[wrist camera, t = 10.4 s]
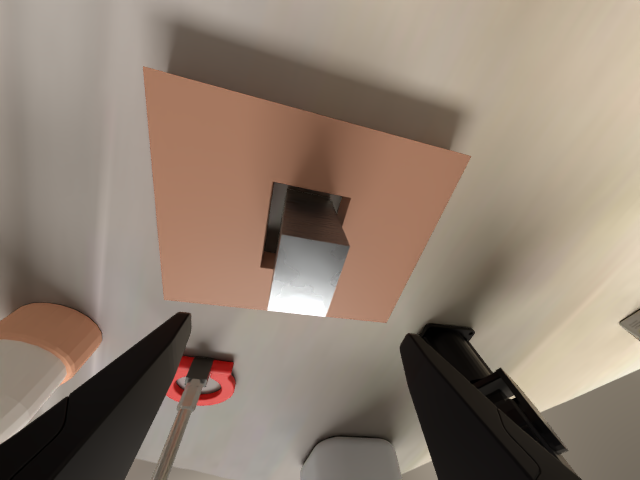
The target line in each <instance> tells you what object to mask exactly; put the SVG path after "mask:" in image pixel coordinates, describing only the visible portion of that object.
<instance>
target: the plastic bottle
mask: <svg viewBox="0 0 640 480" xmlns="http://www.w3.org/2000/svg"><path fill="white" fill-rule="evenodd" d="M300 480H402V476H401V472H400V468H399V464H398V460H397V456H396V452H395V449H394V447H393V446H392V444H391V443H390V442H388V441H386V440H384V439H379V438H359V437H332V438H328V439H325V440H323V441H321V442H320V443H318V444H317V445H316V446H315V448H314V449H313V451H312V452H311V454H310V455H309V457H308V458H307V460H306V462H305V463H304V465H303V466H302V468H301V472H300Z"/></svg>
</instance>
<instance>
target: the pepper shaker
mask: <svg viewBox="0 0 640 480" xmlns="http://www.w3.org/2000/svg"><path fill="white" fill-rule="evenodd" d="M101 341H102V333H101V331H100V330H99V328H98V326H97V325H96V324H95V323H94V322H93V321H92V320H91V319H90V318H89V317H87V316H85V315H83V314H82V313H80V312H78V311H76V310H74V309H71V308H68V307H65V306H62V305H57V304H51V303H32V304H28V305H25V306H21V307H20V308H19V309H17V310H16V311H14V312H13V313H11V314H10V315H8V316H7V317H6V318H4V319H3V320H1V321H0V444H1V443H3V442H4V441H6V440H7V439H9V438H10V437H12V436H13V435H14V434H16V433H17V432H19V431H20V430H21V429H22V428H23V427H24V426H25V425H26V424H27V423H28V422H29V421H30V420H31V418H32V417H33V416H34V415H35V414H36V412H37V411H38V410H39V409H40V408H41V406H42V405H43V404H44V403H45V402H46V400H47V399H48V398H49V397H50V396H51V394H52V393H53V392H54V391H55V390H56V388H57V387H58V386H59V385H61V384H63V383H65V382H66V381H68V380H69V379H71V378H72V377H73V376H74V375H75V374H76V372H77V371H78V370H79V369H80V368H81V367H82V365H83V364H84V363H85V362H86V361H87V360H88V358H89V357H90V356H91V355H92V354H93V353H94V351H95V350H96V349H97V348H98V347H99V345H100V343H101Z"/></svg>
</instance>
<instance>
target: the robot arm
mask: <svg viewBox="0 0 640 480" xmlns="http://www.w3.org/2000/svg"><path fill="white" fill-rule="evenodd" d="M190 333H191V314H190V313H187V312H178V313H176V314H175V315H174V316H172V317H171V318H170V319H168V320H167V321H166V322H164V323H163V324H162V325H160V326H159V327H158V328H156V329H155V330H154V331H152V332H151V333H150V334H149V335H147V336H146V337H145V338H143V339H142V340H141V341H139V342H138V343H137V344H135V345H134V346H133V347H131V348H130V349H129V350H127V351H126V352H125V353H123V354H122V355H121V356H119V357H118V358H117V359H115V360H114V361H113V362H111V363H110V364H109V365H107V366H106V367H105V368H104V369H102V370H101V371H100V372H98V373H97V374H96V375H94V376H93V377H92V378H90V379H89V380H88V381H86V382H85V383H84V384H82V385H81V386H80V387H78V388H77V389H76V390H74V391H73V392H72V393H70V395H69V397H68V396H67V397H65V398H64V399H62V400H61V401H60V402H58V403H57V404H56V405H54V406H53V407H52V408H50V409H49V410H48V411H46V412H45V413H44V414H42V415H41V416H40V417H38V418H37V419H35V420H34V421H33V422H31V423H30V424H29V425H27V426H26V427H24V428H23V429H22V430H20V431H19V432H17V433H16V434H14V435H13V436H12V437H10V438H9V439H7V440H6V441H4V442H3V443H1V444H0V480H125V478H126V476H127V473H128V471H129V469H130V467H131V465H132V463H133V461H134V459H135V457H136V455H137V453H138V451H139V449H140V447H141V445H142V443H143V441H144V439H145V437H146V435H147V432H148V430H149V428H150V426H151V424H152V422H153V420H154V418H155V416H156V414H157V412H158V410H159V408H160V406H161V404H162V402H163V400H164V398H165V396H166V394H167V392H168V389H169V387H170V385H171V383H172V381H173V379H174V377H175V374H176V372H177V369H178V366H179V364H180V361H181V358H182V355H183V353H184V350H185V347H186V344H187V342H188V339H189V336H190ZM474 334H475V331H474V330H473V329H472V328H465V327H456V326H447V325H437V324H428V325H426V326H425V328H424V329H423V331H422V333H421V334H420V336H418V335H417V334H412V333H408V334H407V335H406V336H405V338H404V339H403V341H402V343H401V345H400V353H401V358H402V362H403V366H404V371H405V375H406V380H407V384H408V387H409V391H410V394H411V397H412V400H413V403H414V406H415V409H416V412H417V415H418V419H419V422H420V425H421V428H422V431H423V434H424V437H425V440H426V443H427V446H428V449H429V452H430V456H431V459H432V462H433V465H434V468H435V471H436V474H437V477H438V480H582V479H581V478H580V477H578V476H577V474H576V473H575V472H574V470H573V469H572V468H571V467H570V465H569V464H568V463H567V461H566V460H565V459H564V457H563V456H562V455H561V453H564V452H567V451H568V449H567V448H566V446H565V445H564V444H563V442H562V441H561V440H560V438H559V437H558V436H557V434H556V433H555V432H554V431H553V429H552V428H551V427H550V425H549V424H548V423H547V421H546V420H545V419H544V417H543V416H542V415H541V413H540V412H539V411H538V409H537V408H536V407H535V406H534V404H533V403H532V402H531V401H530V400H529V398H528V397H527V396H526V395H525V394H524V392H523V391H522V390H521V389H520V388H519V386H518V385H517V384H516V383H515V382H514V381H513V380H512V379H511V378H510V377H509V376H508V375H507V374H506V373H505V372H504V371H503V370H502V369H501V368H499V369H497V370H496V372H494V373H493V372H492V371H491V370H490V368H489V367H488V366H487V364H486V363H485V362H484V360H483V359H482V358H481V357H480V355H479V354H478V353H477V351H476V350H475V349H474V347H473V346H472V345H471V343H470V342H469V340H470V339H471V338H472V336H473V335H474ZM513 395H514V396H515V397H516V398H514V399H509V397H511V396H513Z"/></svg>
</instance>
